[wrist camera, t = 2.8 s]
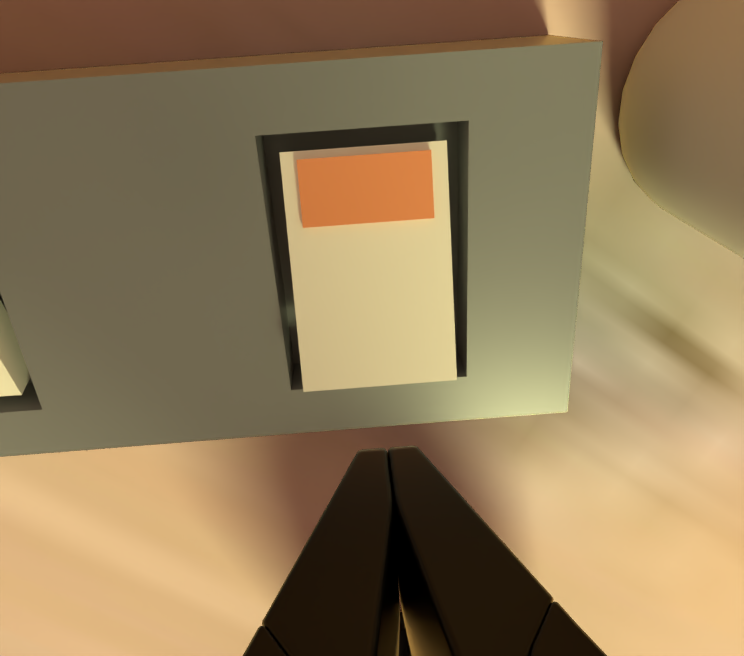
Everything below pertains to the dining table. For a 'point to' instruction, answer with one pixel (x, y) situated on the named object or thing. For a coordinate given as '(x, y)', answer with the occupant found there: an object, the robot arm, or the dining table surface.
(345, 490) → the robot arm
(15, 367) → the rocker
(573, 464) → the dining table surface
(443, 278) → the rocker
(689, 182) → the cup
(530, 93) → the grey rocker switch panel
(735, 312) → the dining table surface
